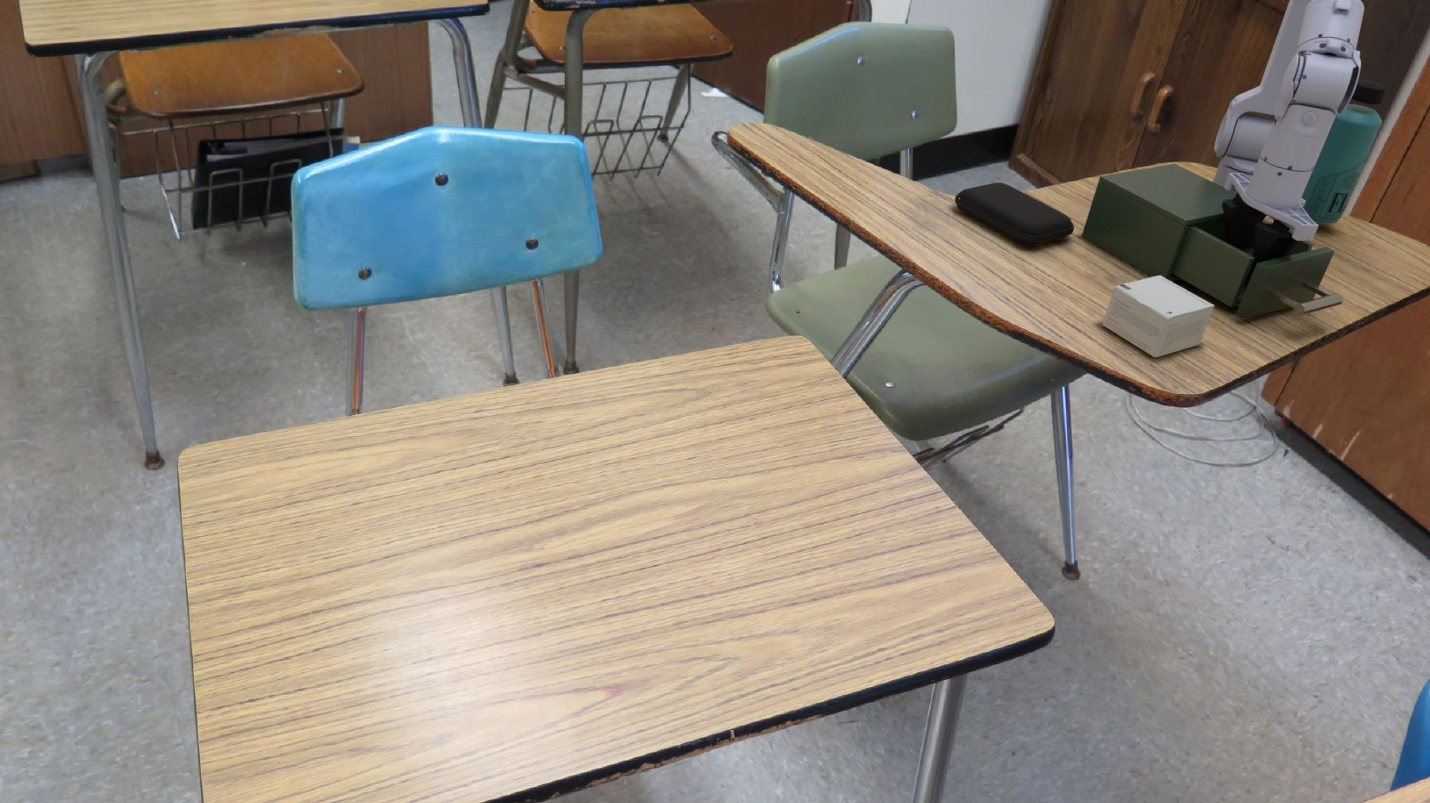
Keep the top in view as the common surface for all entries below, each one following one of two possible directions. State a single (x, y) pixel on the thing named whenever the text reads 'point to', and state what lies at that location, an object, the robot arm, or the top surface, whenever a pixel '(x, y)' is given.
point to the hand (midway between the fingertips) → (1243, 269)
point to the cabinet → (1151, 214)
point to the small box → (1157, 315)
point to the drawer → (1271, 281)
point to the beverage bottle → (1343, 155)
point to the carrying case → (1014, 214)
